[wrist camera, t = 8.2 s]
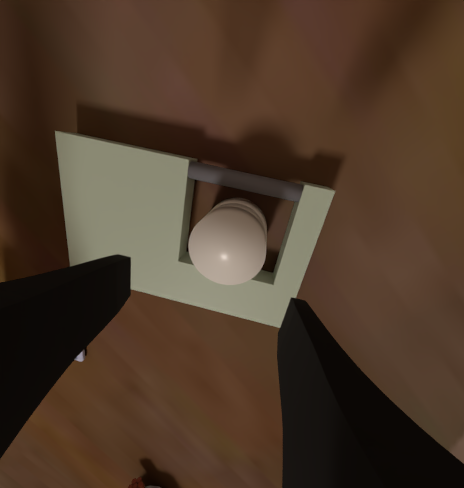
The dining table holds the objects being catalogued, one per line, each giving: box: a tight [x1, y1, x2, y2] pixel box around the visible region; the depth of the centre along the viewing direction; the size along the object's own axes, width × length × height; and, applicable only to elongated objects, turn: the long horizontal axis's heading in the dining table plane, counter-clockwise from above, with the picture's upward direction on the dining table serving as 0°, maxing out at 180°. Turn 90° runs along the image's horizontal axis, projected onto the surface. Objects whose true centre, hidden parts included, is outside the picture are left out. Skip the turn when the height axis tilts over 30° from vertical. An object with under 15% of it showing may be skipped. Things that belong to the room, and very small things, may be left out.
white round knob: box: [188, 198, 267, 285], centre depth 17 cm, size 5×5×5 cm
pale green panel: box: [55, 131, 335, 328], centre depth 19 cm, size 20×12×2 cm, turn 79°
